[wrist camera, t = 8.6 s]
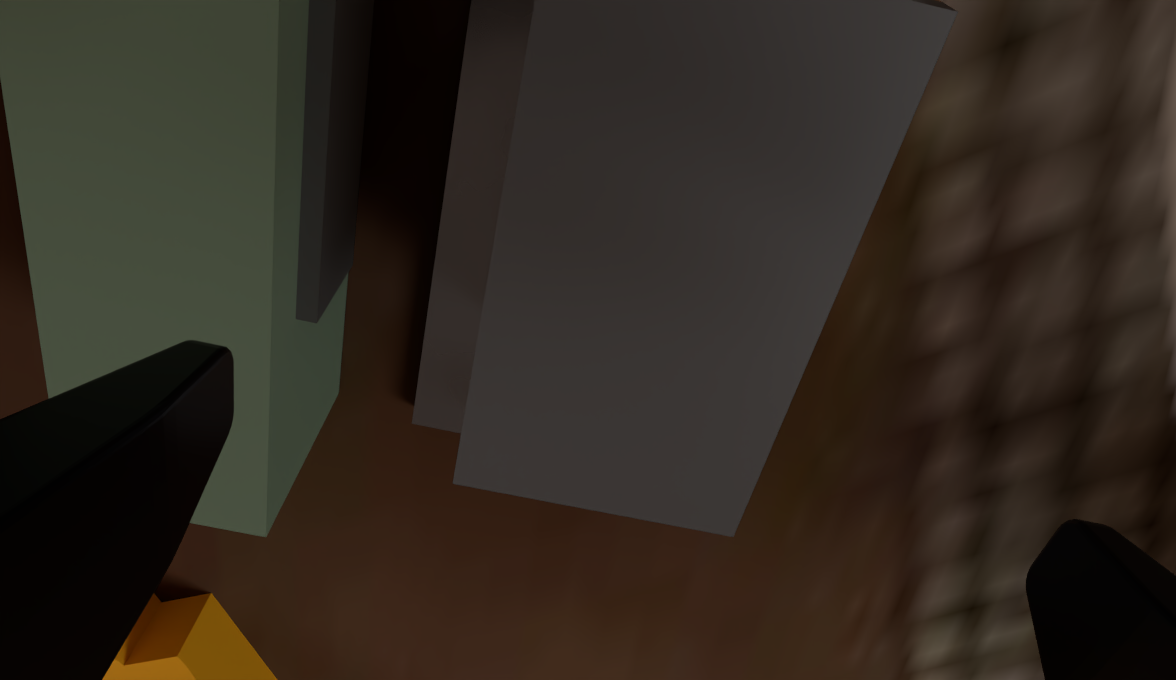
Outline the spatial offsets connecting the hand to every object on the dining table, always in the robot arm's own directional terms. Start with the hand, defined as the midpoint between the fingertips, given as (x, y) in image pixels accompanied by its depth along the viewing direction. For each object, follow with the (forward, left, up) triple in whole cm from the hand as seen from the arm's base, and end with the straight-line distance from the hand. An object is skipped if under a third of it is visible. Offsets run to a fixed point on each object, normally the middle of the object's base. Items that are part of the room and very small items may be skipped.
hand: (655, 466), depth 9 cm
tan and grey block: (0, 0, -10) cm, 10 cm away
